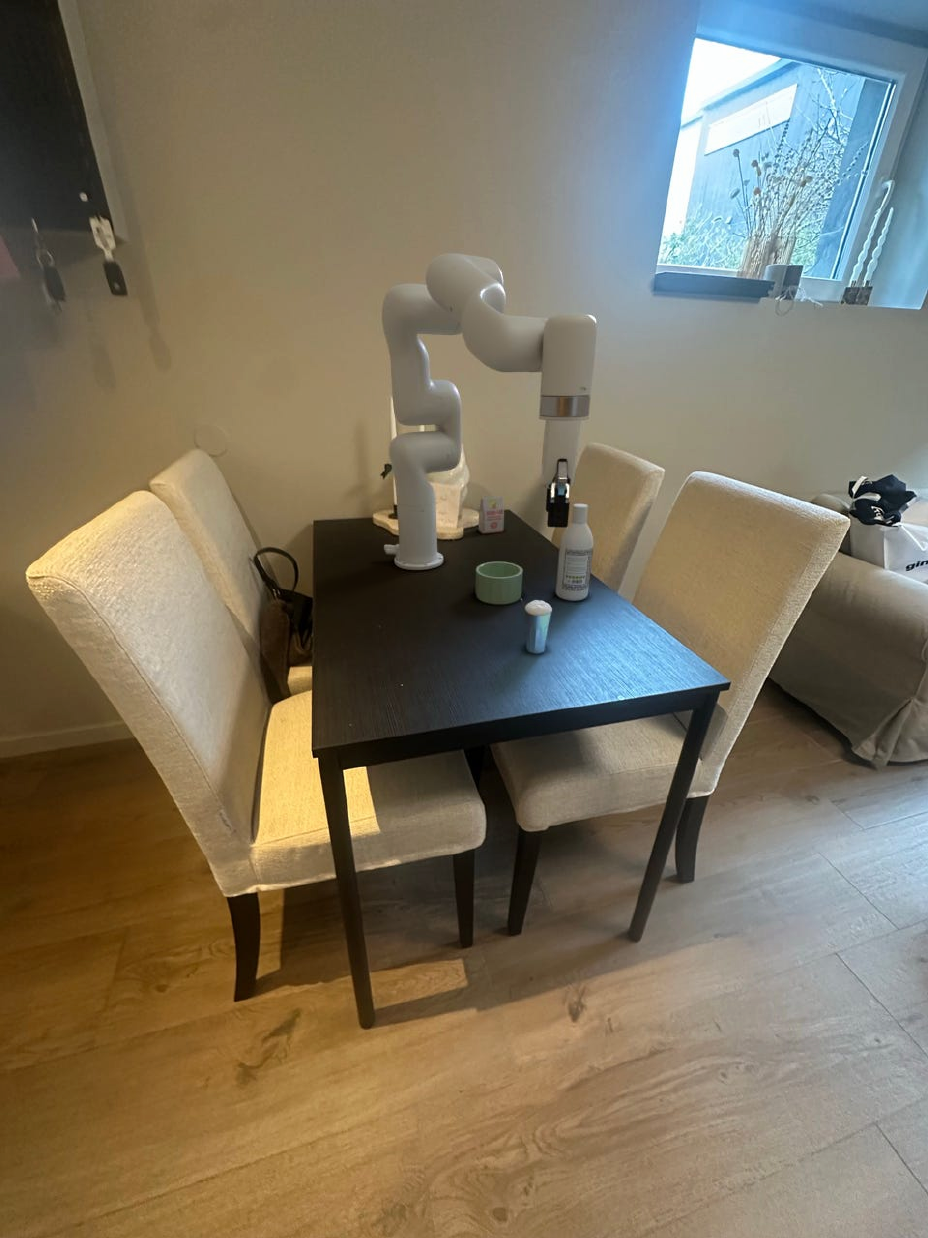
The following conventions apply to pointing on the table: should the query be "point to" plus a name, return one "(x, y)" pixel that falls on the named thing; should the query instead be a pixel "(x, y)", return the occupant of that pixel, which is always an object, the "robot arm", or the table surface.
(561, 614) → the table surface
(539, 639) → the milkshake
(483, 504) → the white and pink carton
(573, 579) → the bath foam
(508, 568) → the cup
